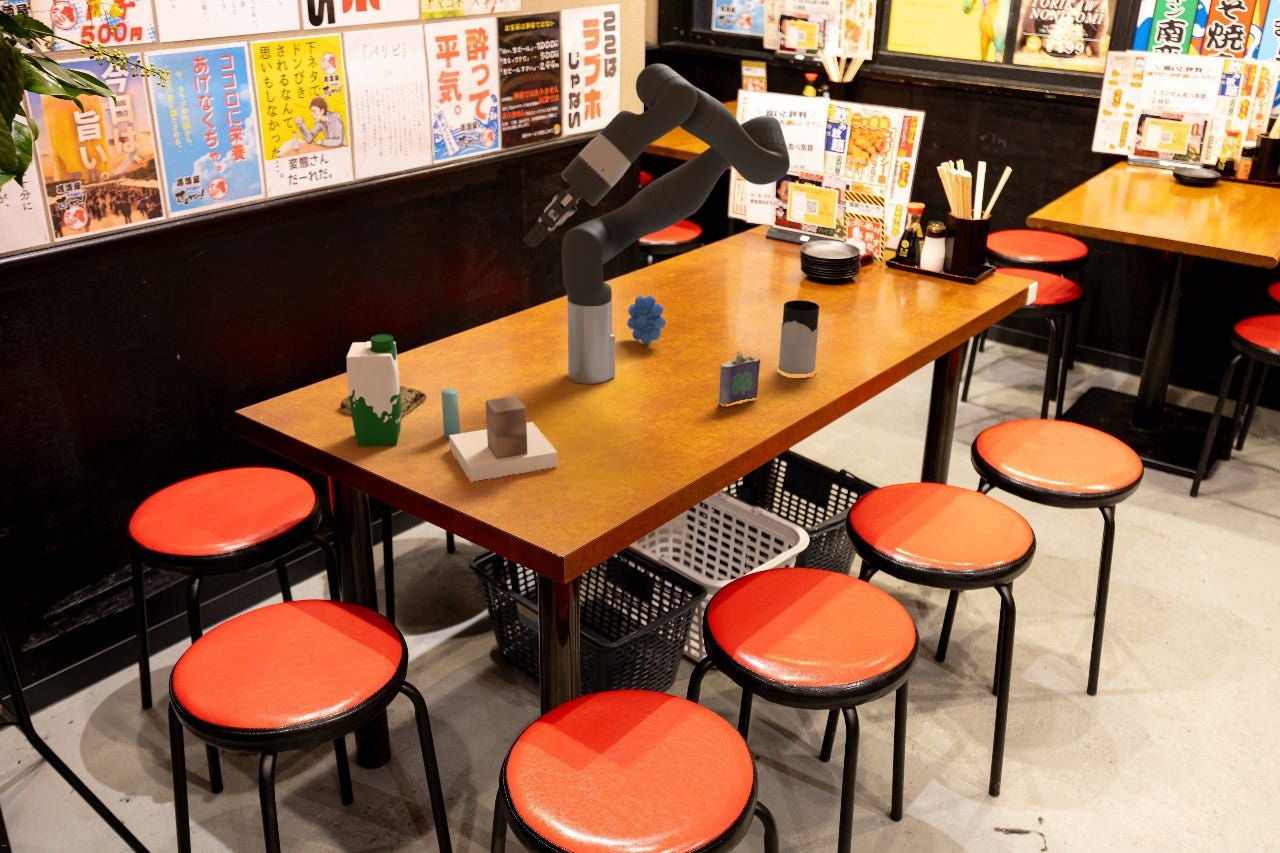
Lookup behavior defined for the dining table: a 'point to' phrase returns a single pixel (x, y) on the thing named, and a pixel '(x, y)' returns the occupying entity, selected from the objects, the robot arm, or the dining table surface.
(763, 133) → the robot arm
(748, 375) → the flask
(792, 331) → the glass holder
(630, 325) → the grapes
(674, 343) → the dining table surface
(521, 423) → the grey brown block
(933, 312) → the dining table surface
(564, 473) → the dining table surface
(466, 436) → the board
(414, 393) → the pastry
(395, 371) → the milk carton
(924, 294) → the dining table surface
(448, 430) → the peg
